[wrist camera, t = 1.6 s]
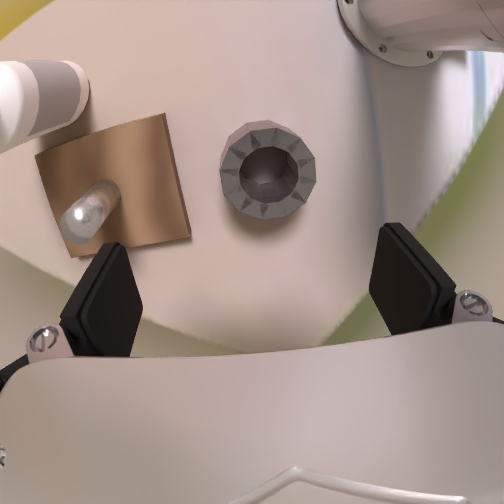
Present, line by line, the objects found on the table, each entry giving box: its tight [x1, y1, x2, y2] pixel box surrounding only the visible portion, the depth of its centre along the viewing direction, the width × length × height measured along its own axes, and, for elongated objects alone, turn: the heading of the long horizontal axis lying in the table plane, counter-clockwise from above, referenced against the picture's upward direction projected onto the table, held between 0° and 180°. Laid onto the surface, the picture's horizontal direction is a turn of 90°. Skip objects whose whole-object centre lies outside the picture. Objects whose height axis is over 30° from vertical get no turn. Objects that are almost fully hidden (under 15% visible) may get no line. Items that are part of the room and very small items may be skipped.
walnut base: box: [35, 113, 191, 258], centre depth 27 cm, size 14×12×2 cm
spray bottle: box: [0, 61, 89, 154], centre depth 14 cm, size 7×7×18 cm
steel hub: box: [219, 120, 316, 220], centre depth 26 cm, size 7×7×5 cm
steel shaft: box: [60, 179, 121, 244], centre depth 24 cm, size 3×3×7 cm
